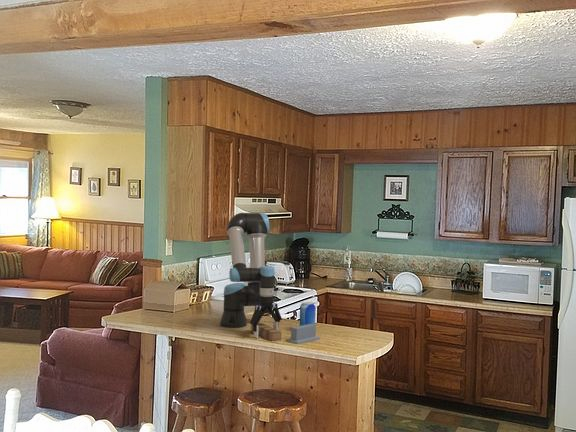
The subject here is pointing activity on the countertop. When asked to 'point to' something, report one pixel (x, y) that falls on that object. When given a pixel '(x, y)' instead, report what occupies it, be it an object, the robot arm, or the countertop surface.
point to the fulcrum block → (303, 334)
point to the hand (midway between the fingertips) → (265, 335)
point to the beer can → (307, 313)
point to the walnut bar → (268, 332)
